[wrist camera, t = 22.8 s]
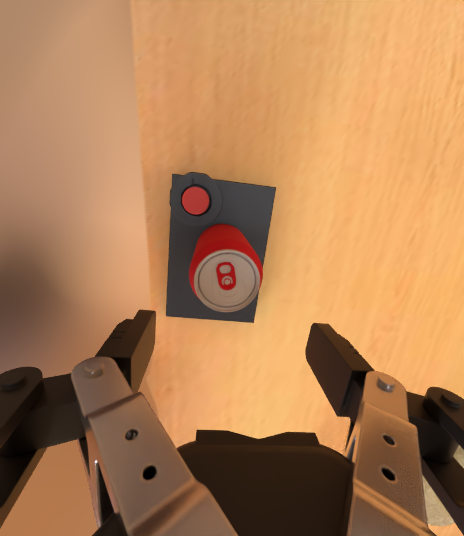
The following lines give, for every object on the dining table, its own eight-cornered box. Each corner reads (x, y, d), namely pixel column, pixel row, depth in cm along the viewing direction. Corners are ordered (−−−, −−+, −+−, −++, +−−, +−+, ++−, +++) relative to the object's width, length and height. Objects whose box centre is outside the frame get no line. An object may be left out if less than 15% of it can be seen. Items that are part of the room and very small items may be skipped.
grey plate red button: (174, 171, 29) (169, 169, 25) (273, 184, 30) (280, 183, 27) (168, 310, 34) (163, 323, 31) (251, 316, 35) (255, 329, 32)
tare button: (184, 185, 26) (182, 185, 25) (210, 188, 27) (210, 188, 25) (183, 211, 27) (181, 213, 26) (208, 214, 28) (207, 216, 26)
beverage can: (201, 275, 31) (194, 324, 20) (192, 227, 29) (178, 250, 18) (249, 267, 31) (270, 311, 20) (243, 219, 29) (262, 237, 18)
